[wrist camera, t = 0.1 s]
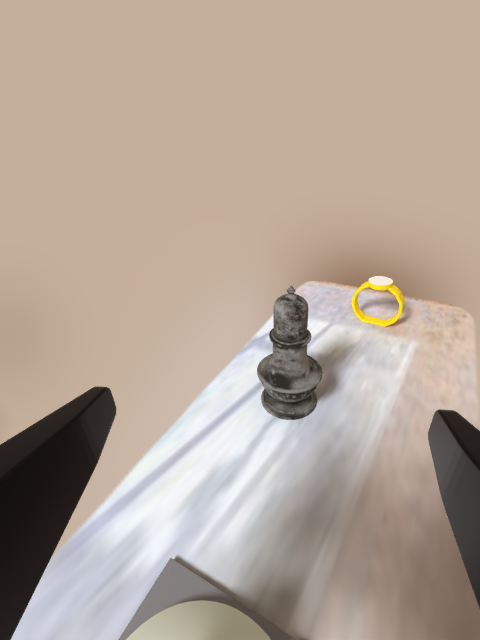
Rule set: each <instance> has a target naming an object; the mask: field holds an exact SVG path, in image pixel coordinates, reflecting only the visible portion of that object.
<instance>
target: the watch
mask: <svg viewBox="0 0 480 640" xmlns="http://www.w3.org/2000/svg"><path fill="white" fill-rule="evenodd" d="M368 287H370V288H372V289H375V290H389V291H390V292H391V293H393V294H394V295H395V296H396V299H397V301H398V303H399V311H398V313H397V314H396V315H395V317H392V318H390V319H387V320H383V319H378V318H374V317H370V316H366V315H365V314H364V313H363V312H362V311H361V310H360V308H359V305H358V301H357V299H358V295H359V292H360V291H361V290H362V289H364V288H368ZM404 302H405V301H404V297H403V295H402V293H401V291H400V290H399V289H398V288H397V287H396V286H395V285H393V281H392V279H390V278H387V277H382V276H375V277H372V278H370V279H369V280H368V282H365V283H364V284H362V285H361V286H360V287H359V288H358V289H357V291H356V292H355V293H354V295H353V299H352V308H353V311H354V313H355V315H356V316H357V317H358V318H359V319H360V320H361V321H362V322H366V323H371V324H375V325H379V326H383V327H386V326H389V325H391V324H394V323H395V322H396V321H397V320H398V318H399V317H400V316H401V314H402V312H403V310H404Z"/></svg>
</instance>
